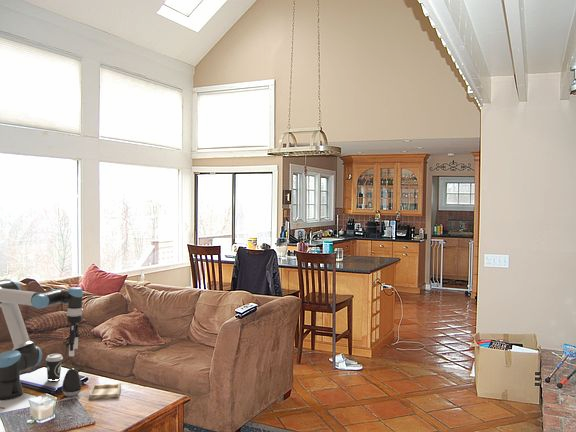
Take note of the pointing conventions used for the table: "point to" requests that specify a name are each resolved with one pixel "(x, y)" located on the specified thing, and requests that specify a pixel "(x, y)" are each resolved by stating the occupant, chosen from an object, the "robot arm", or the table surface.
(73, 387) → the pump dispenser
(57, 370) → the coffee cup
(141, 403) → the table surface
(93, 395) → the beige flat square tray
